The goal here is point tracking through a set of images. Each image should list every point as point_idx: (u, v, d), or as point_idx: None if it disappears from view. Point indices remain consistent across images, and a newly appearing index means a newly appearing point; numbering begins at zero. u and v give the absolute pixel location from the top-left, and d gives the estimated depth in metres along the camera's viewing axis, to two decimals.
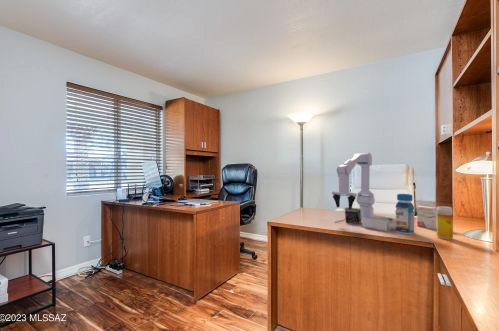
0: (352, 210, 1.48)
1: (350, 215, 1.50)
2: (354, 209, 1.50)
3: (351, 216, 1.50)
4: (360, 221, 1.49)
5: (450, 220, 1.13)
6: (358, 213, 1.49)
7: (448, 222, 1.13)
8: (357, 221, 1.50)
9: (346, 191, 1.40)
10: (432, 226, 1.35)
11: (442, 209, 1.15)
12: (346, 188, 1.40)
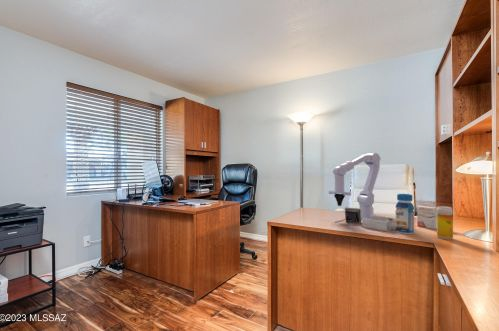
0: (352, 210, 1.48)
1: (350, 215, 1.50)
2: (354, 209, 1.50)
3: (351, 216, 1.50)
4: (360, 221, 1.49)
5: (450, 220, 1.13)
6: (358, 213, 1.49)
7: (448, 222, 1.13)
8: (357, 221, 1.50)
9: (341, 190, 1.54)
10: (432, 226, 1.35)
11: (442, 209, 1.15)
12: (341, 187, 1.54)
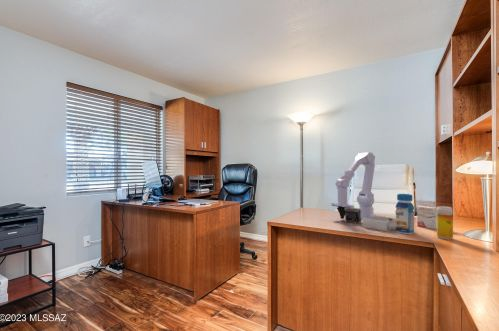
0: (352, 210, 1.48)
1: (350, 215, 1.50)
2: None
3: (351, 216, 1.50)
4: (360, 221, 1.49)
5: (450, 220, 1.13)
6: (358, 213, 1.49)
7: (448, 222, 1.13)
8: (357, 221, 1.50)
9: (344, 203, 1.53)
10: (432, 226, 1.35)
11: (442, 209, 1.15)
12: (344, 200, 1.53)
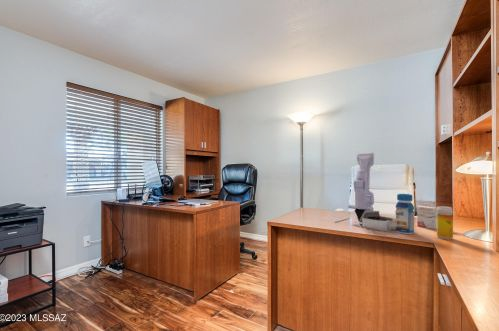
0: (373, 214, 1.39)
1: (368, 218, 1.41)
2: None
3: None
4: None
5: (450, 220, 1.13)
6: None
7: (448, 222, 1.13)
8: None
9: (363, 205, 1.44)
10: (432, 226, 1.35)
11: (442, 209, 1.15)
12: (363, 202, 1.44)
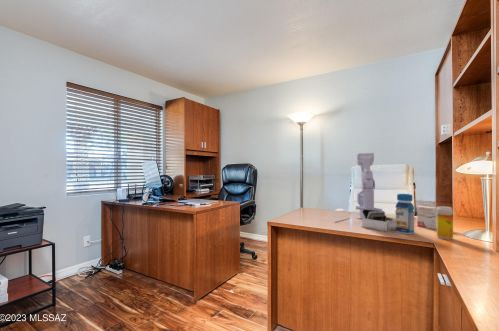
0: (379, 215, 1.36)
1: (374, 219, 1.38)
2: None
3: None
4: None
5: (450, 220, 1.13)
6: None
7: (448, 222, 1.13)
8: None
9: (371, 206, 1.40)
10: (432, 226, 1.35)
11: (442, 209, 1.15)
12: (371, 203, 1.40)
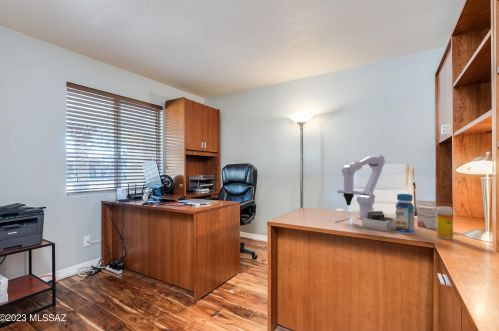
0: (377, 213, 1.37)
1: None
2: (376, 212, 1.39)
3: None
4: None
5: (450, 220, 1.13)
6: None
7: (448, 222, 1.13)
8: None
9: (351, 189, 1.53)
10: (432, 226, 1.35)
11: (442, 209, 1.15)
12: (351, 187, 1.53)
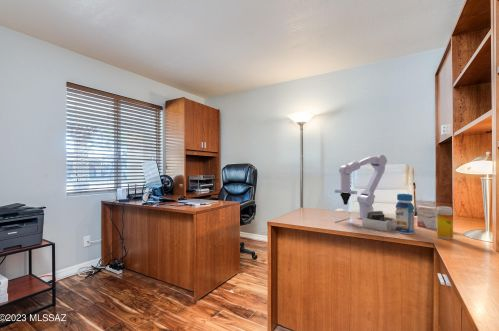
0: (377, 213, 1.37)
1: None
2: (376, 212, 1.39)
3: None
4: None
5: (450, 220, 1.13)
6: None
7: (448, 222, 1.13)
8: None
9: (347, 189, 1.55)
10: (432, 226, 1.35)
11: (442, 209, 1.15)
12: (347, 186, 1.55)
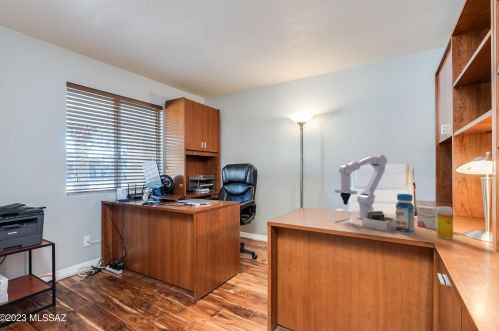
0: (377, 213, 1.37)
1: None
2: (376, 212, 1.39)
3: None
4: None
5: (450, 220, 1.13)
6: None
7: (448, 222, 1.13)
8: None
9: (347, 189, 1.55)
10: (432, 226, 1.35)
11: (442, 209, 1.15)
12: (347, 186, 1.55)
